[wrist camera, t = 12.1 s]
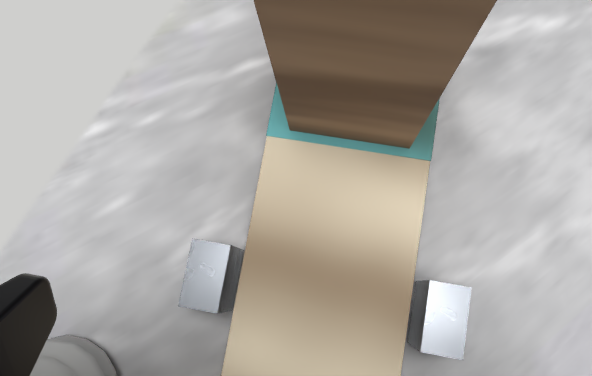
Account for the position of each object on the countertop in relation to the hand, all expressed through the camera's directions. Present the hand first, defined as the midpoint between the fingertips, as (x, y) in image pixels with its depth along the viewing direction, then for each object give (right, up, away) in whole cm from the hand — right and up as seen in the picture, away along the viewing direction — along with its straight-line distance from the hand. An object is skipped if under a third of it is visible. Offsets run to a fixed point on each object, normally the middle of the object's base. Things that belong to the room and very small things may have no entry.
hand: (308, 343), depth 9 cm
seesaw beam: (+1, -2, +12) cm, 12 cm away
